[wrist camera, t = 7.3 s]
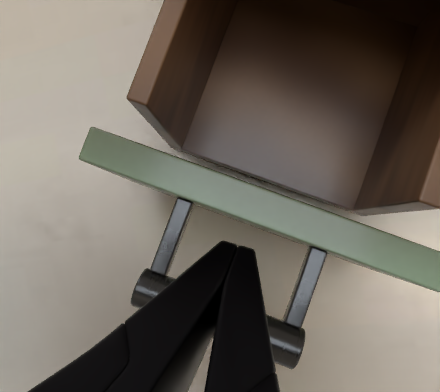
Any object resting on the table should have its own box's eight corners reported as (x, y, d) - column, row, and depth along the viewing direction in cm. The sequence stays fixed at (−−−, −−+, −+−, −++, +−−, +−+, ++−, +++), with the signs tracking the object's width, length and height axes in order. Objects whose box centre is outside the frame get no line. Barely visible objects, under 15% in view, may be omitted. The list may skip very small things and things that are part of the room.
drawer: (332, 340, 21) (398, 425, 12) (117, 257, 22) (30, 277, 13) (439, 32, 21) (574, -101, 13) (227, -34, 23) (217, -199, 14)
